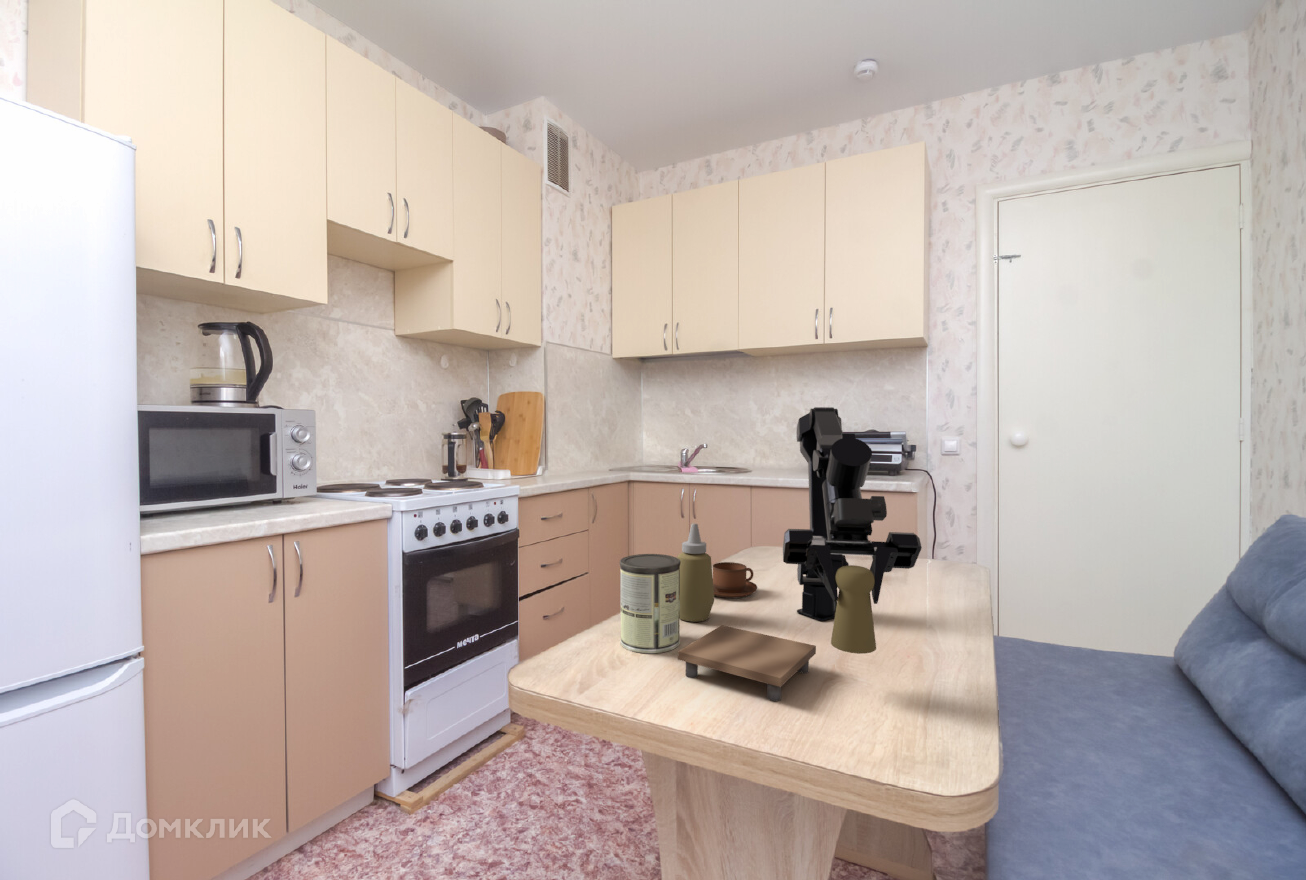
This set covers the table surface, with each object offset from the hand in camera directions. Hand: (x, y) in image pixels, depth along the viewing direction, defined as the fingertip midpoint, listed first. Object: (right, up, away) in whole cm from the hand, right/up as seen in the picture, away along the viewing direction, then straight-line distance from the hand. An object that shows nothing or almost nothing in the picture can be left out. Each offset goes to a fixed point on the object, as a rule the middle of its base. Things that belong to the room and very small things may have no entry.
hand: (856, 601), depth 83 cm
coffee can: (-28, -13, +20) cm, 37 cm away
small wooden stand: (-14, -13, +8) cm, 20 cm away
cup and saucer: (-11, -12, +50) cm, 52 cm away
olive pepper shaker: (0, -7, +2) cm, 7 cm away
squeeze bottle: (-20, -12, +33) cm, 41 cm away
